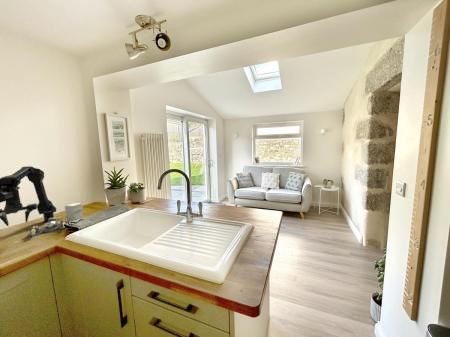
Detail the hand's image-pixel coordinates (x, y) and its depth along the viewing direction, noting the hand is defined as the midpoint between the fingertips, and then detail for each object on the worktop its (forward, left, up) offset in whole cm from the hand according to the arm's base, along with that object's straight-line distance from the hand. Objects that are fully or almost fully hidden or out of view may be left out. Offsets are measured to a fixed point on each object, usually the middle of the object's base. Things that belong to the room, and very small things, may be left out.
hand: (17, 224), depth 115 cm
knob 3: (-3, +21, -8) cm, 22 cm away
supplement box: (-15, +26, -10) cm, 32 cm away
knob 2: (-18, +15, -8) cm, 25 cm away
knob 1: (-3, +6, -8) cm, 11 cm away
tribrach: (-11, +13, -10) cm, 20 cm away
